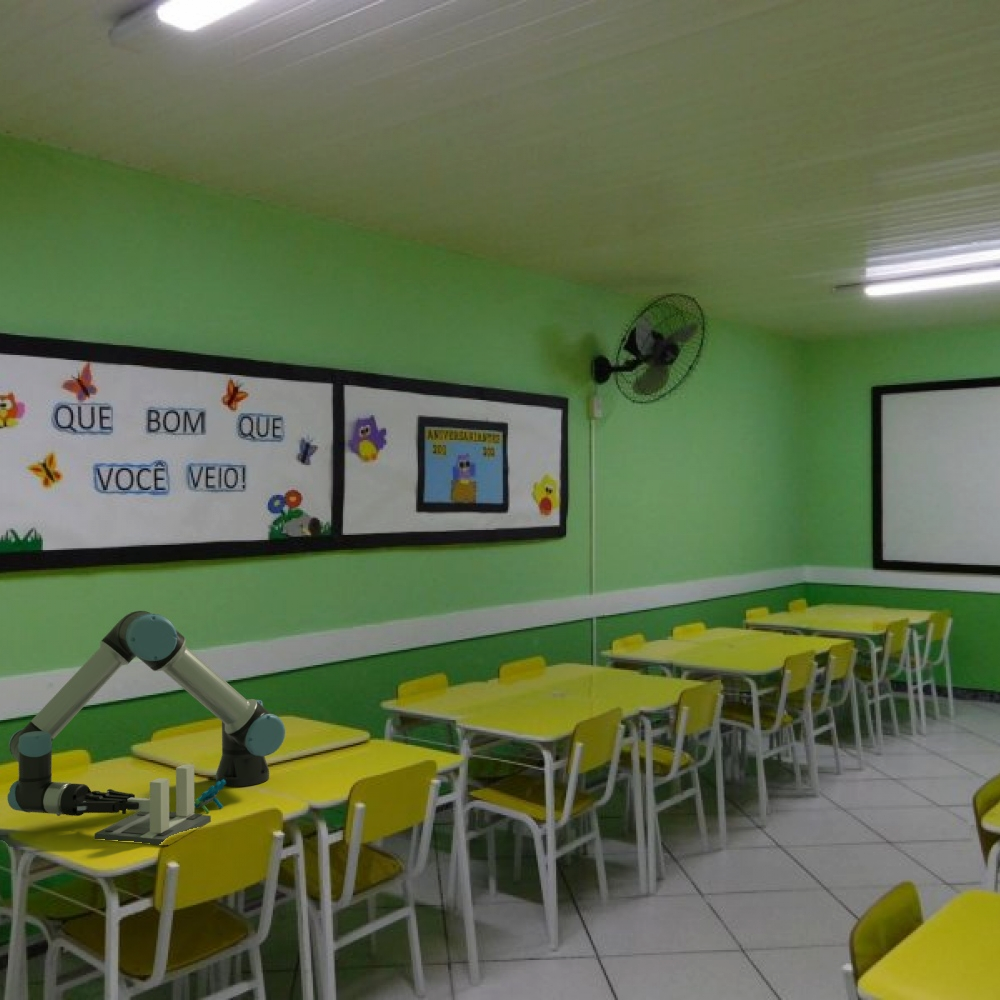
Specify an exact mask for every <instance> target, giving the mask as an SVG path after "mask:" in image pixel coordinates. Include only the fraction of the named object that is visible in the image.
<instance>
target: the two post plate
mask: <svg viewBox="0 0 1000 1000" xmlns="http://www.w3.org/2000/svg"><path fill="white" fill-rule="evenodd" d="M175 794H176V795H175V803H176V804H175V811H169V829H168V830H166V831H164V832H162V833H153V832H150V812H143V811H136V812H135V813H133V814H131V815H129V816H126V817H124V818H123V819H121V820H118V821H117V822H115V823H112V824H111V825H109V826H106V827H105V828H102V829H101V830H99V831H97V832H95V833H94V835H93V836H94V837H93V838H94V839H105V840H118V841H134V842H142V843H150V844H156V845H155V846H160V845H159V844H161V842H163V841H164V840H165V839H166V838H168V837H169V836H171V835H174V834H177V833H179V832H183V831H187V830H189V829H193V828H197V827H200V828H202V827H204V826H205V825H207V824H209V823H211V822H212V820H211V819H212V816H211V815H208V814H207V815H206V814H203V813H195V806H194V803H195V802H194V800H195V765H194V764H182V765H179V766H177V767H176V768H175ZM203 825H204V826H203ZM201 826H202V827H201Z"/></svg>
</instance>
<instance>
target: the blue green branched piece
mask: <svg viewBox="0 0 1000 1000" xmlns="http://www.w3.org/2000/svg"><path fill="white" fill-rule="evenodd" d="M225 784H226V781H225V780H224V779H223V780H221V781H218V782H217V783H216V782H215V785H210V787H208V790H206V791H203V792H202V794H201V796H199V797H198V798H196V799H195V798H194V808H195V809H198V808H199V809H203V811H204V812H205V813H206V814H209V813H210V811H209V809H208V808H207V806H206V805H207V804H209V803H211V802H214V804H215V805H216V806H217V807H218V809H219V810H221V809H222V808H224V805H223V804H222V803H221V802H220V800H219V799H218V798H217V795H218V794H219V793H220V791H222V790H223V789H224V787H225V786H224V785H225Z"/></svg>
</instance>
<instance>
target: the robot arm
mask: <svg viewBox="0 0 1000 1000" xmlns="http://www.w3.org/2000/svg"><path fill="white" fill-rule="evenodd" d="M99 643H100V646H99V647H98V649H97V650H96V652H94V653H93V655H92V656H91V657H90V658H89V659H87V661H86V662H85V663H84V664H83V665H82V666H81V667H80V668H79V669H78V670H77V671H76V673H74V674H73V676H72V677H71V678H70V679H69V680H68V681H67V682H66V683H65V684H64V685H63V687H62V688H61V689H60V690H58V692H57V693H56V694H55V695H54V696H53V697H52V698H51V699H50V700H49V701H48V702H47V703H46V704H45V706H43V708H42V709H40V711H39V712H38V713H37V714H36V715H35V716H33V718H32V719H31V721H29V722H28V724H26V725H25V727H24V728H22V729H18V730H17V731H16V732H14V733H13V734H12V735H11V737H10V739H9V742H8V748H9V752H10V754H11V755H12V757H13V758H14V759H15V760H16V761H17V763H18V778H17V779H18V780H16V781H14V782H13V783H12V784H11V785H10V787H9V792H8V794H7V803H8V805H9V807H10V808H11V809H12V810H15V811H19V812H24V813H39V814H52V815H53V814H54V815H56V816H57V817H61V815H62V816H63V815H65V816H72V817H73V816H75V817H78V816H79V817H80V816H82V815H84V814H105V813H106V814H119V813H120V812H121V814H122V815H124V814H127V811H130V812H131V811H132V812H139V811H143V812H150V798H145V797H143V798H140V797H135V796H136V794H134V793H129V792H128V793H127V792H122V791H117V790H115V789H111V788H109V789H106V792H104V791H103V792H102V791H101V790H91V789H90V787H89V786H88V785H87V784H84V783H71V782H58V781H57V782H56V781H53V780H52V778H53V777H52V776H53V775H52V774H53V773H52V757H53V756H52V755H53V752H52V751H53V744H52V741H54V739H55V738H56V737H57V736H58V735H59V734H60V733H61V732H62V730H63V729H64V728H65V727H67V725H68V724H69V723H70V722H71V721H72V720H73V719H74V717H75V716H76V715H78V713H80V711H81V710H82V709H83V708H84V707H85V706H86V705H87V704H88V702H90V700H92V699H93V698H94V696H95V695H96V694H97V693H98V691H100V689H102V688H103V687H104V686H105V684H106V683H108V682H109V680H110V679H111V678H112V677H113V676H114V675H115V673H116V672H117V671H118V670H119V669H120V668H121V667H122V666H126V665H127V666H128V665H129V664H130V663H131V662H132V661H133V660H134V659H135V658H136V657H137V658H138V659H139V660H140V661H142V662H143V663H144V664H145V665H146V666H148V667H149V668H150V669H151V670H152V671H153V672H159V671H163V673H165V674H166V675H167V676H168V677H169V678H170V679H171V680H173V681H174V682H175V683H177V685H179V686H180V687H181V688H182V689H184V690H185V691H186V692H187V693H189V695H190V696H192V698H194V699H195V700H197V701H198V702H199V703H200V704H201V705H202V706H204V707H205V708H206V710H208V711H210V712H211V713H212V714H213V715H214V716H215V717H216V718H217V719H219V720H220V721H221V741H222V742H221V747H222V748H221V751H222V752H221V756H220V757H221V758H220V760H219V764H218V767H217V770H216V773H215V784H216V783H217V782H218V781H221V780H223V779H224V780H225V781H226V784H225V785H228V786H227V787H247V786H255V785H260V784H262V783H264V782H267V781H269V780H270V769H269V766H268V762H267V760H266V756H270V755H272V754H275V752H276V751H278V750H279V749H280V747H281V746H282V745H283V743H284V740H285V737H286V727H285V723H284V722H283V721H282V720H281V718H280V717H279V716H278V715H276V714H273V713H271V712H270V711H269V710H268V709H266V708H265V707H264V705H263V704H264V703H263V701H262V700H261V699H255V698H250V699H246V697H244V696H243V695H242V694H240V692H238V691H237V690H236V689H235V688H234V687H233V686H231V685H230V684H229V683H228V682H227V681H226V680H225V679H224V678H223V677H221V676H220V675H219V674H218V673H217V672H216V671H215V670H214V669H212V668H211V667H210V666H209V665H207V664H206V662H204V661H203V660H202V659H201V658H200V657H198V655H197V654H195V653H194V652H193V651H192V650H191V649H190V648H189V647H187V645H186V643H187V642H186V637H185V636H184V635H182V634H181V632H179V631H178V630H177V629H176V627H175V626H174V624H173V623H172V622H171V621H170V620H169V619H168V618H167V617H165V616H164V615H161V614H156V613H151V612H149V611H145V610H136V611H133V612H130V613H128V614H126V615H124V617H121V619H120V620H119V621H118V623H116V624H115V625H114V626H113V628H111V630H110V631H109V632H108V633H107V634H106V635H105V636H104V637H103V638H102V639H101V640H100V642H99Z"/></svg>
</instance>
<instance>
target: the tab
mask: <svg viewBox="0 0 1000 1000" xmlns="http://www.w3.org/2000/svg"><path fill="white" fill-rule="evenodd" d="M149 799H150V832H153V833H162V832H164V831H166V830H168V829H169V812H170V778H160V777H158V778H155V779H154V780H151V781H149Z"/></svg>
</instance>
